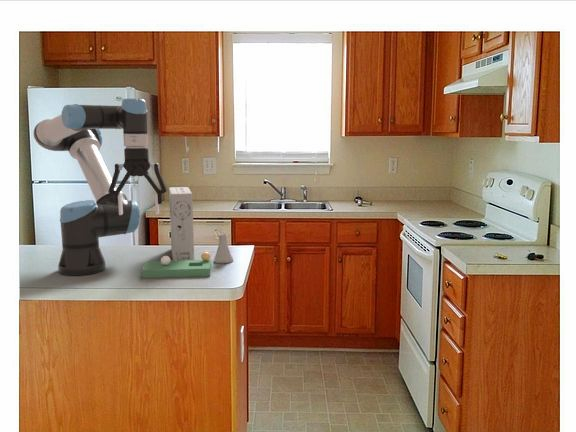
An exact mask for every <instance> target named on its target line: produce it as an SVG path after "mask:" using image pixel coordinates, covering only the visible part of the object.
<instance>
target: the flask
mask: <svg viewBox="0 0 576 432" xmlns="http://www.w3.org/2000/svg"><path fill="white" fill-rule="evenodd" d="M218 238H219V239H218V240H219V241H218V246H217V250H216V253H215V255H214V259H213V263H216V264H229V263H232V262H233V261H234V257H233V255H232V252H231V250H230V247H229V243H228V240H227V238H228V234H227V233H219V234H218Z"/></svg>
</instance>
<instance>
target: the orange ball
mask: <svg viewBox="0 0 576 432" xmlns="http://www.w3.org/2000/svg"><path fill="white" fill-rule="evenodd" d="M211 256H212V255H211V254H210V252H208V251H204V252H202V253H201V255H200V259H201V260H204V261H208V260H211Z"/></svg>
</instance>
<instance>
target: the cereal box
mask: <svg viewBox="0 0 576 432" xmlns="http://www.w3.org/2000/svg"><path fill="white" fill-rule="evenodd" d="M168 193H169V195H168V197H169V219H170V220H169V221H170V223H169V224H170V240H171V241H170V243H171V244H170V245H171V246H170V247H171V249H170V250H171V254H172V261H176V260H195V244H194V242H195V240H194V239H195V238H194V209H193V207H194V206H193V202H194V201H193V192H192V191H191V190H190V187H188V186H180V187H179V186H175V187H173V186H171V187H169V188H168Z"/></svg>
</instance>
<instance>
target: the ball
mask: <svg viewBox="0 0 576 432" xmlns="http://www.w3.org/2000/svg"><path fill="white" fill-rule="evenodd" d="M160 261H161V263H162V264H163V265H168V264H169V263H170V261H171V258H170V257H169V256H168V255H164V256H162V257H160Z"/></svg>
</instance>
